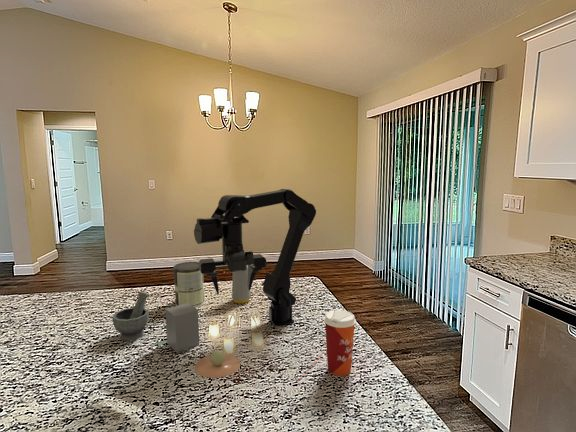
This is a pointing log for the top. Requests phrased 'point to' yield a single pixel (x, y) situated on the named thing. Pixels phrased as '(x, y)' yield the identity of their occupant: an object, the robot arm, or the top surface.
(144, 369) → the top surface
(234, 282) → the soap bottle
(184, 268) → the coffee can
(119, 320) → the mortar and pestle
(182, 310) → the grey tall block
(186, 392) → the top surface
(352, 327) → the paper cup
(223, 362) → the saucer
